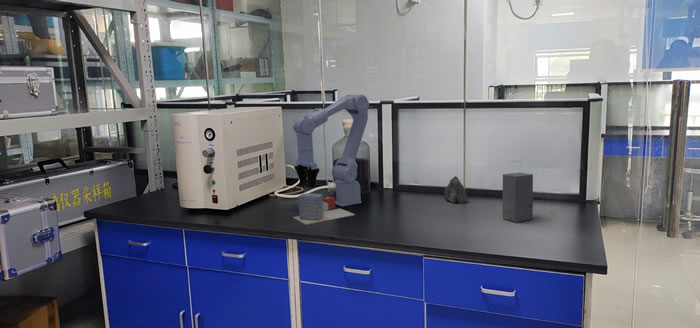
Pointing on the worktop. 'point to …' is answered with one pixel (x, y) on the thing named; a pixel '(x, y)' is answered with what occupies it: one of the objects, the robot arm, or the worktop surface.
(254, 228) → the worktop surface
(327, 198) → the die
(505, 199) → the skincare box
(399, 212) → the worktop surface
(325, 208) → the button box
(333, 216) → the cream flat sheet
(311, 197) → the medicine box
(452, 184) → the mineral rock
